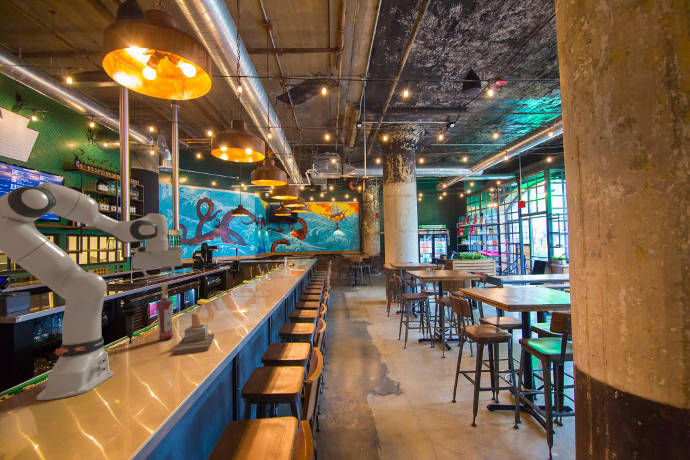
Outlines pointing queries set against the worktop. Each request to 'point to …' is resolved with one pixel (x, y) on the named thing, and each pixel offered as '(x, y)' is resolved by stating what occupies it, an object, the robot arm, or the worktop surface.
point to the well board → (194, 340)
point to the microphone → (129, 318)
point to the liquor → (165, 315)
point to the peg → (196, 320)
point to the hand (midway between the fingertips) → (158, 277)
